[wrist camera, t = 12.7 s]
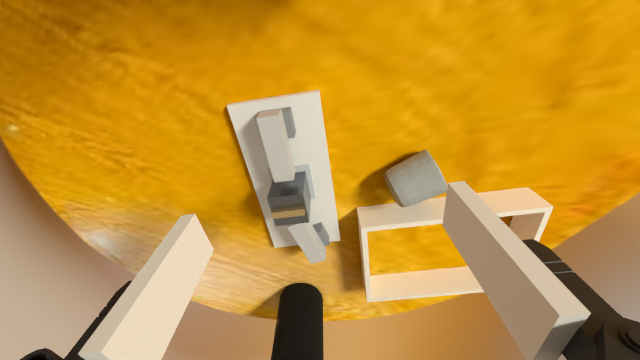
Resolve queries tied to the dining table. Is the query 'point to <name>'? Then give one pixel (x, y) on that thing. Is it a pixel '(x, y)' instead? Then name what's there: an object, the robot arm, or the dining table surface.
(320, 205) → the white base plate
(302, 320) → the coffee jar
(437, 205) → the tray
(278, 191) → the dark grey block
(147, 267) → the robot arm
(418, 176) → the ceramic mug
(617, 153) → the dining table surface
